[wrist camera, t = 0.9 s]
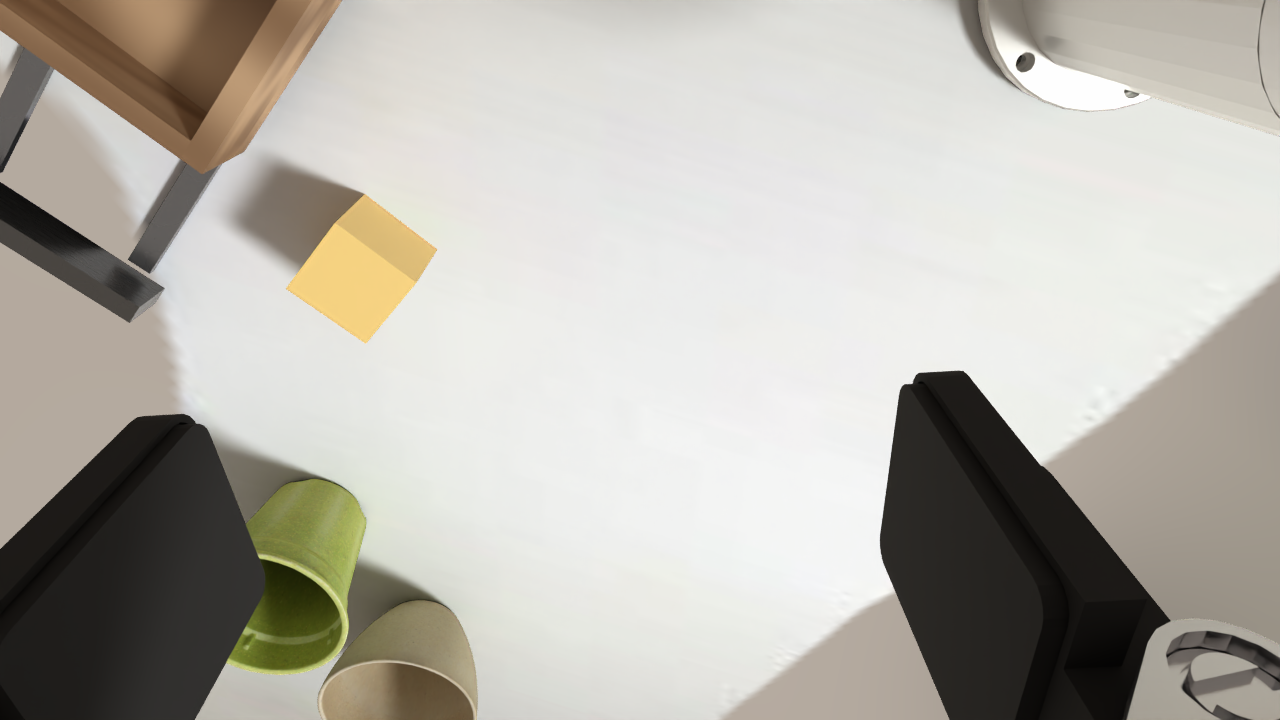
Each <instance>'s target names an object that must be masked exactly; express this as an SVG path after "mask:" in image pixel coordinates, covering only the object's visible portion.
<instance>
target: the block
mask: <svg viewBox="0 0 1280 720" xmlns="http://www.w3.org/2000/svg"><path fill="white" fill-rule="evenodd" d="M436 251H437V249H436V248H435V247H433V246H432V245H431V244H429V243H428V242H427V241H425V240H424V239H423V238H422V237H420V236H419V235H418V234H416V233H415V232H414V231H412V230H411V229H410V228H408V227H407V226H406V225H405V224H403V223H402V222H401V221H399V220H398V219H397V218H395V217H394V216H393V215H392V214H390V213H389V212H388V211H386V210H385V209H384V208H382V207H381V206H380V205H378V204H377V203H376V202H375V201H373V200H372V199H371V198H369V197H368V196H367V195H365V194H364V195H363V196H362V197H361V198H360V199H359V200H358V201H357V202H356V203H355V204H354V205H353V206H352V207H351V208H350V209H349V210H348V211H347V212H346V213H344V214H343V215H342V216H341V217H340V218H339V219H338V220H337V221H336V222H335V223H334V225H333V226H332V227H331V229H330V230H329V231H328V233H327V234H326V235H325V237H324V238H323V239H322V241H321V242H320V243H319V245H318V246H317V247H316V249H315V250H314V251H313V253H312V254H311V256H310V257H309V258H308V260H307V261H306V262H305V264H304V265H303V266H302V268H301V269H300V270H299V272H298V273H297V274H296V276H295V277H294V278H293V280H292V281H291V282H290V284H289V285H288V287H287V288H286V289H287V290H288V291H290V292H291V293H293V294H294V295H296V296H297V297H299V298H300V299H302V300H303V301H304V302H306V303H307V304H309V305H310V306H312V307H313V308H315V309H316V310H318V311H319V312H320V313H322V314H323V315H325V316H326V317H328V318H329V319H331V320H332V321H334V322H335V323H336V324H338V325H339V326H341V327H342V328H344V329H345V330H347V331H348V332H350V333H351V334H352V335H354V336H355V337H357V338H358V339H360V340H361V341H363V342H364V343H367V342H368V340H369V339H370V338H371V337H372V336H373V334H374V333H375V332H376V331H377V330H378V328H379V327H380V326H381V325H382V324H383V322H384V321H385V320H386V319H387V318H388V316H389V315H390V314H391V313H392V311H393V310H394V309H395V308H396V307H397V305H398V304H399V303H400V302H401V301H402V299H403V298H404V297H405V296H406V295H407V293H408V292H409V291H410V290H411V289H412V287H413V286H414V285H415V284H416V283H417V281H418V279H419V278H420V276H421V275H422V273H423V271H424V270H425V268H426V267H427V265H428V263H429V262H430V260H431V259H432V257H433V256H434V254H435V252H436Z"/></svg>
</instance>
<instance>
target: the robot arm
mask: <svg viewBox="0 0 1280 720" xmlns="http://www.w3.org/2000/svg"><path fill="white" fill-rule="evenodd" d="M978 12H979V17H980V22H981V28H982V33H983V37H984V39H985V42H986V44H987V46H988V49H989V51H990V53H991V56H992V58H993V60H994V61H995V62H996V64H997V65H998V67H999V68H1000V69H1001V71H1002V72H1003V74H1004V75H1005V76H1006V78H1008V79H1009V80H1010V81H1011V82H1012V83H1013V84H1015V85H1016V86H1017V87H1018V88H1019V89H1021V90H1022V91H1023V92H1024V93H1026V94H1028V95H1030V96H1032V97H1034V98H1036V99H1038V100H1040V101H1042V102H1044V103H1047V104H1051V105H1054V106H1057V107H1059V108H1062V109H1068V110H1076V111H1084V112H1093V111H1107V110H1115V109H1119V108H1124V107H1128V106H1132V105H1135V104H1138V103H1141V102H1143V101H1145V100H1148V99H1150V98H1155V99H1158V100H1162V101H1165V102H1168V103H1172V104H1175V105H1178V106H1181V107H1185V108H1188V109H1191V110H1194V111H1198V112H1201V113H1204V114H1207V115H1211V116H1214V117H1217V118H1220V119H1224V120H1227V121H1230V122H1234V123H1237V124H1240V125H1243V126H1247V127H1250V128H1253V129H1256V130H1260V131H1263V132H1266V133H1269V134H1273V135H1276V136H1279V137H1280V0H978ZM1020 55H1021V56H1022V60H1021V62H1020V63H1019V64H1018V65H1016V60H1017V59H1018V57H1019V56H1020ZM1124 89H1125V90H1124ZM880 549H881V555H882V560H883V563H884V566H885V568H886V570H887V573H888V575H889V578H890V580H891V582H892V585H893V587H894V589H895V592H896V594H897V596H898V599H899V601H900V604H901V606H902V608H903V610H904V613H905V615H906V618H907V620H908V622H909V625H910V627H911V630H912V632H913V634H914V636H915V639H916V641H917V643H918V646H919V648H920V651H921V653H922V655H923V658H924V660H925V663H926V665H927V667H928V670H929V672H930V674H931V677H932V679H933V681H934V684H935V686H936V689H937V691H938V693H939V696H940V698H941V700H942V703H943V705H944V707H945V710H946V712H947V715H948V717H949V719H950V720H1280V645H1279V644H1277V643H1276V642H1274V641H1271V640H1269V639H1267V638H1265V637H1263V636H1261V635H1258V634H1256V633H1254V632H1252V631H1250V630H1248V629H1245V628H1241V627H1238V626H1235V625H1231V624H1228V623H1225V622H1221V621H1215V620H1206V619H1197V618H1191V619H1182V620H1175V621H1170V619H1169V618H1168V617H1167V616H1166V615H1165V613H1164V612H1163V611H1162V610H1161V609H1160V607H1159V606H1158V605H1157V603H1156V602H1155V601H1154V600H1153V599H1152V597H1151V596H1150V595H1149V594H1148V592H1147V591H1146V590H1145V589H1144V587H1143V586H1142V585H1141V584H1140V583H1139V581H1138V580H1137V579H1136V578H1135V576H1134V575H1133V574H1132V573H1131V571H1130V570H1129V569H1128V568H1127V566H1126V565H1125V564H1124V563H1123V562H1122V560H1121V559H1120V558H1119V557H1118V555H1117V554H1116V553H1115V552H1114V550H1113V549H1112V548H1111V547H1110V545H1109V544H1108V543H1107V542H1106V541H1105V539H1104V538H1103V537H1102V536H1101V535H1100V533H1099V532H1098V531H1097V530H1096V528H1095V527H1094V526H1093V525H1092V523H1091V522H1090V521H1089V520H1088V519H1087V517H1086V516H1085V515H1084V514H1083V512H1082V511H1081V510H1080V509H1079V507H1078V506H1077V505H1076V504H1075V502H1074V501H1073V500H1072V499H1071V497H1070V496H1069V495H1068V494H1067V493H1066V491H1065V490H1064V489H1063V488H1062V487H1061V485H1060V484H1059V483H1058V481H1057V480H1056V479H1055V478H1054V476H1052V474H1051V473H1050V472H1048V470H1047V469H1045V468H1044V467H1043V466H1040V464H1039V463H1038V462H1037V461H1036V459H1035V458H1034V457H1033V456H1032V454H1031V453H1030V452H1029V451H1028V449H1027V448H1026V447H1025V446H1024V445H1023V443H1022V442H1021V441H1020V440H1019V438H1018V437H1017V436H1016V435H1015V433H1014V432H1013V431H1012V430H1011V428H1010V427H1009V426H1008V425H1007V423H1006V422H1005V421H1004V420H1003V418H1002V417H1001V416H1000V415H999V413H998V412H997V411H996V410H995V408H994V407H993V406H992V405H991V403H990V402H989V401H988V400H987V398H986V397H985V396H984V395H983V393H982V392H981V391H980V390H979V388H978V387H977V386H976V385H975V383H974V382H973V381H972V380H971V378H970V377H969V376H968V375H967V374H966V373H965V372H964V371H945V372H927V373H918V374H917V375H916V376H915V378H914V380H913V384H904V385H903V386H902V388H901V390H900V394H899V400H898V407H897V415H896V422H895V430H894V437H893V444H892V452H891V459H890V467H889V474H888V482H887V489H886V496H885V504H884V511H883V519H882V526H881V533H880ZM264 588H265V573H264V569H263V567H262V564H261V562H260V559H259V557H258V554H257V552H256V549H255V546H254V544H253V541H252V539H251V536H250V534H249V531H248V529H247V526H246V524H245V521H244V519H243V516H242V514H241V511H240V509H239V506H238V504H237V501H236V499H235V496H234V494H233V491H232V489H231V486H230V484H229V481H228V479H227V476H226V474H225V471H224V469H223V466H222V464H221V461H220V459H219V456H218V454H217V451H216V449H215V446H214V444H213V441H212V439H211V436H210V434H209V432H208V430H207V428H205V427H204V426H203V425H201V424H196V423H195V421H194V420H193V419H192V418H191V417H190V416H188V415H185V414H175V415H157V416H142V417H137V418H136V419H134V420H133V421H131V422H130V423H129V424H128V425H127V426H126V427H125V428H124V429H123V430H122V431H121V432H120V433H119V434H118V435H117V436H116V437H115V438H114V439H113V440H112V441H111V442H110V443H109V444H108V445H107V446H106V447H105V448H104V449H103V450H101V451H100V453H98V454H97V456H95V457H94V458H93V459H92V460H91V461H90V462H89V463H88V464H87V465H86V466H85V467H84V468H83V469H82V470H81V471H80V472H79V473H78V474H77V475H76V476H75V477H74V478H73V479H72V480H71V481H70V482H69V483H68V484H67V485H66V486H65V487H64V488H63V489H62V490H60V491H59V492H58V494H56V495H55V496H54V497H53V498H52V499H51V500H50V501H49V502H48V503H47V504H46V505H45V506H44V507H43V508H42V509H41V510H40V511H39V512H38V513H37V514H36V515H35V516H34V517H33V518H32V519H31V520H30V521H29V522H28V523H27V524H26V525H25V526H24V527H23V528H22V529H21V530H19V531H18V532H17V534H15V535H14V536H13V537H12V538H11V539H10V540H9V541H8V542H7V543H6V544H5V545H4V546H3V547H2V548H1V549H0V720H195V718H196V716H197V715H198V713H199V711H200V709H201V707H202V706H203V704H204V702H205V700H206V698H207V696H208V695H209V693H210V691H211V689H212V687H213V686H214V684H215V682H216V680H217V678H218V676H219V675H220V673H221V671H222V669H223V667H224V666H225V664H226V662H227V660H228V658H229V656H230V655H231V653H232V651H233V649H234V647H235V645H236V644H237V642H238V640H239V638H240V636H241V635H242V633H243V631H244V629H245V627H246V625H247V624H248V622H249V620H250V618H251V616H252V615H253V613H254V611H255V609H256V607H257V605H258V604H259V602H260V600H261V598H262V595H263V592H264Z"/></svg>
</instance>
